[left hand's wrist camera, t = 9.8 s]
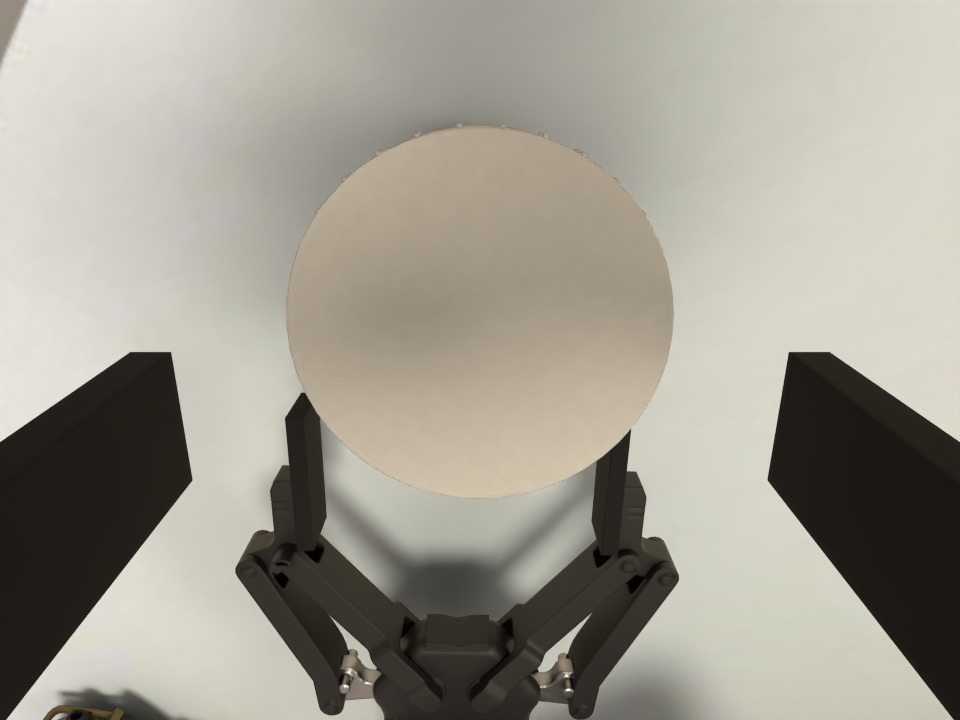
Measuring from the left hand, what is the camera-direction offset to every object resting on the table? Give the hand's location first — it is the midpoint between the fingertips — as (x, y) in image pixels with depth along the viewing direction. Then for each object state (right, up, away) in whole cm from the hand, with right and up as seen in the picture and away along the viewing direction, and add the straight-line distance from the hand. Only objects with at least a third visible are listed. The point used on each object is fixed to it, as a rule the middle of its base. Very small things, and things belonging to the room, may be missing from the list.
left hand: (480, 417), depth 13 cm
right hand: (-1, -1, +16) cm, 16 cm away
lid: (0, +2, +5) cm, 6 cm away
